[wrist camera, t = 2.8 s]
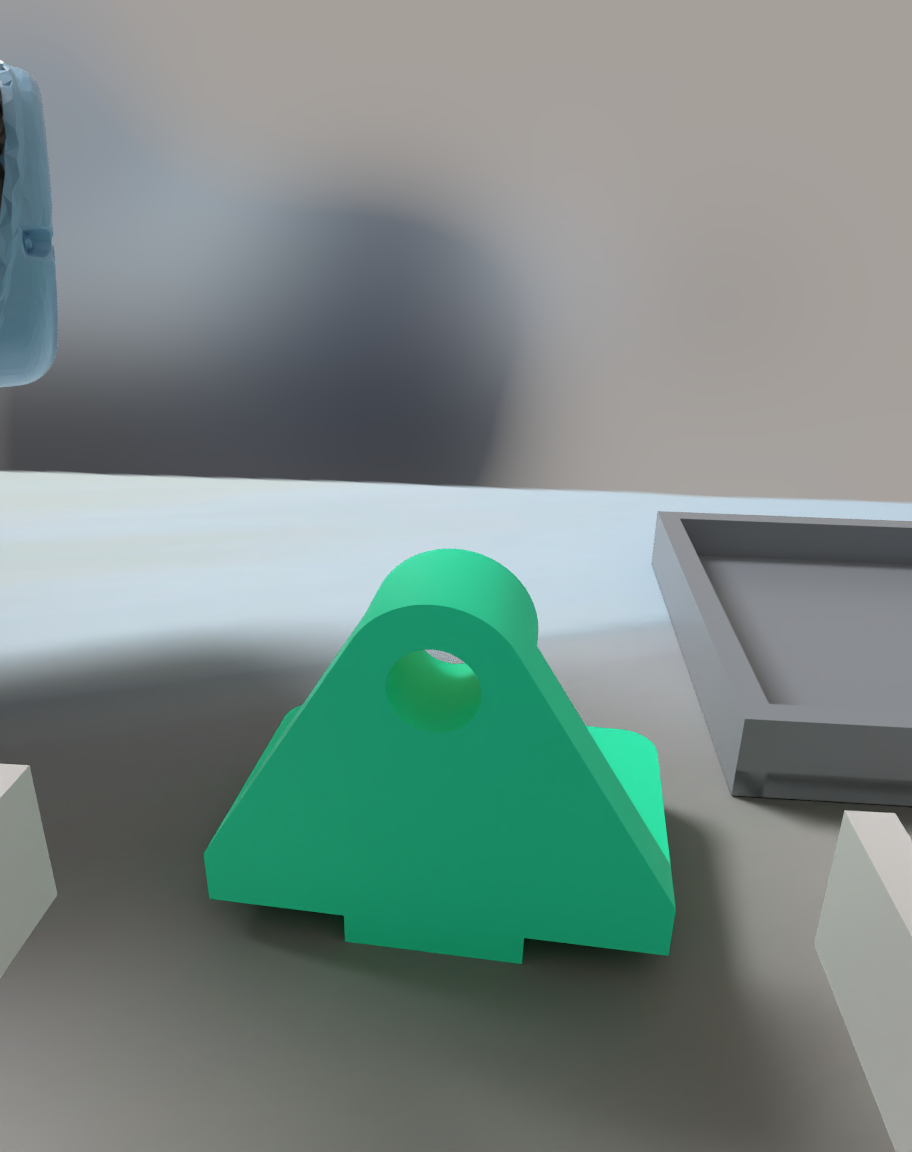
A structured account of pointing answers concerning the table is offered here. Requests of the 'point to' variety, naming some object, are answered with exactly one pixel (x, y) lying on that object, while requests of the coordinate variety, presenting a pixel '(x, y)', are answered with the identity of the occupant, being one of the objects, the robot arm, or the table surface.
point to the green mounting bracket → (452, 788)
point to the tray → (797, 649)
